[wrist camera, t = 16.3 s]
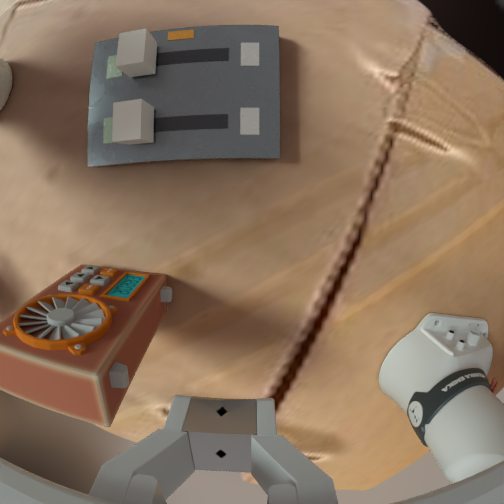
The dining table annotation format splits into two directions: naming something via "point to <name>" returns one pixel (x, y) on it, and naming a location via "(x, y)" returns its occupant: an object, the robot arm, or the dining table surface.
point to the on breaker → (133, 122)
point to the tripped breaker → (136, 53)
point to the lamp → (5, 82)
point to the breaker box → (193, 96)
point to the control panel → (82, 340)
